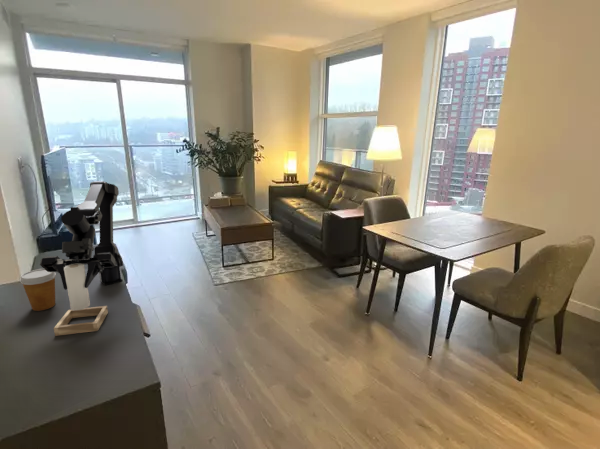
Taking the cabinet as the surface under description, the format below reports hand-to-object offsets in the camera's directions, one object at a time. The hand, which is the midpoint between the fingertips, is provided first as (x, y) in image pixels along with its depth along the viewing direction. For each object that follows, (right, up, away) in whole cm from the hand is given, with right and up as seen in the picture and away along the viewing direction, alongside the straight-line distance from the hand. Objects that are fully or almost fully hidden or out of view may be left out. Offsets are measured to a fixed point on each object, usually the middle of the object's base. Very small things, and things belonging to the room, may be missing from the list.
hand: (75, 288), depth 98 cm
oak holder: (0, -12, +4) cm, 12 cm away
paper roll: (0, -6, +3) cm, 7 cm away
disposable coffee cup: (-20, -9, +14) cm, 27 cm away
